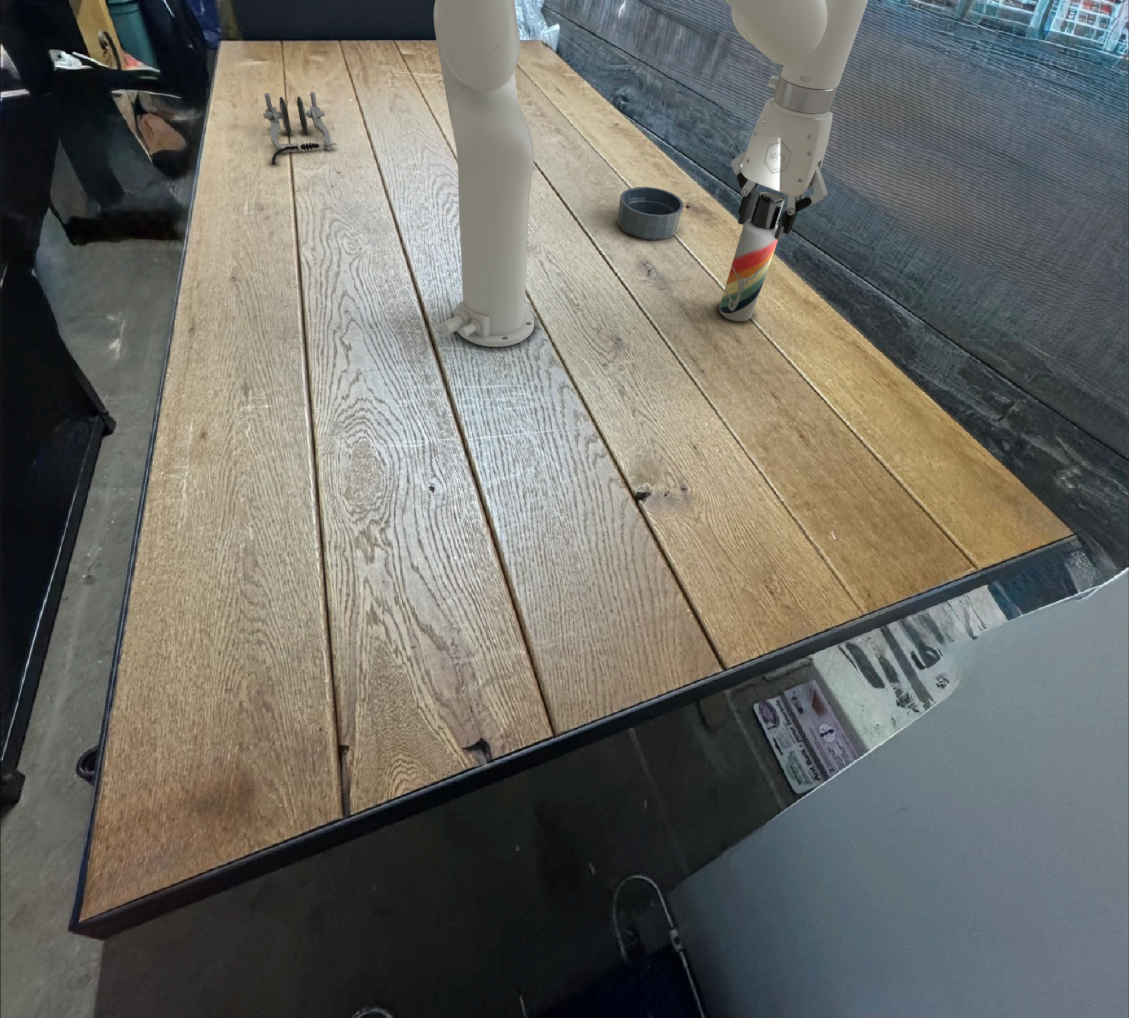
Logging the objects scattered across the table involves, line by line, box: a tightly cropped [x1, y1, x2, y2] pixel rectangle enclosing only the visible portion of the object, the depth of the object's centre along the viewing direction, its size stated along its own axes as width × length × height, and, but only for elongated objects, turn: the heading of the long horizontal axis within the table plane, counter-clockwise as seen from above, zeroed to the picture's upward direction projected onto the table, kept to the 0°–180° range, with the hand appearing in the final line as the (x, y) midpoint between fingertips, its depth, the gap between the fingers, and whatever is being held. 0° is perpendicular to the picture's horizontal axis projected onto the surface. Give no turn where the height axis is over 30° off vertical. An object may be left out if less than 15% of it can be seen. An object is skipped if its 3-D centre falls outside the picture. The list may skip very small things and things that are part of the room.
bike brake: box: [262, 91, 337, 166], centre depth 139 cm, size 14×7×20 cm
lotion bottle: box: [719, 191, 786, 322], centre depth 104 cm, size 6×6×20 cm
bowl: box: [616, 186, 684, 241], centre depth 127 cm, size 12×12×5 cm
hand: (762, 227), depth 100 cm, fingers closed on lotion bottle, 5 cm apart
